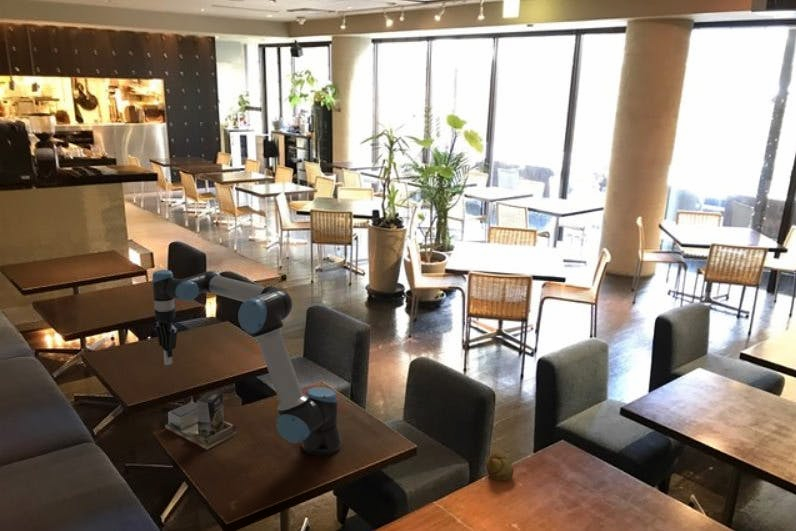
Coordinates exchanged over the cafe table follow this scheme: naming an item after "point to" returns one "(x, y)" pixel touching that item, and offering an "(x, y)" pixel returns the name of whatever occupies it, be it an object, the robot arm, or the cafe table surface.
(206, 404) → the coffee box
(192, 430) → the silver tray
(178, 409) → the housing
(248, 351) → the cafe table surface
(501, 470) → the olive snail shell
